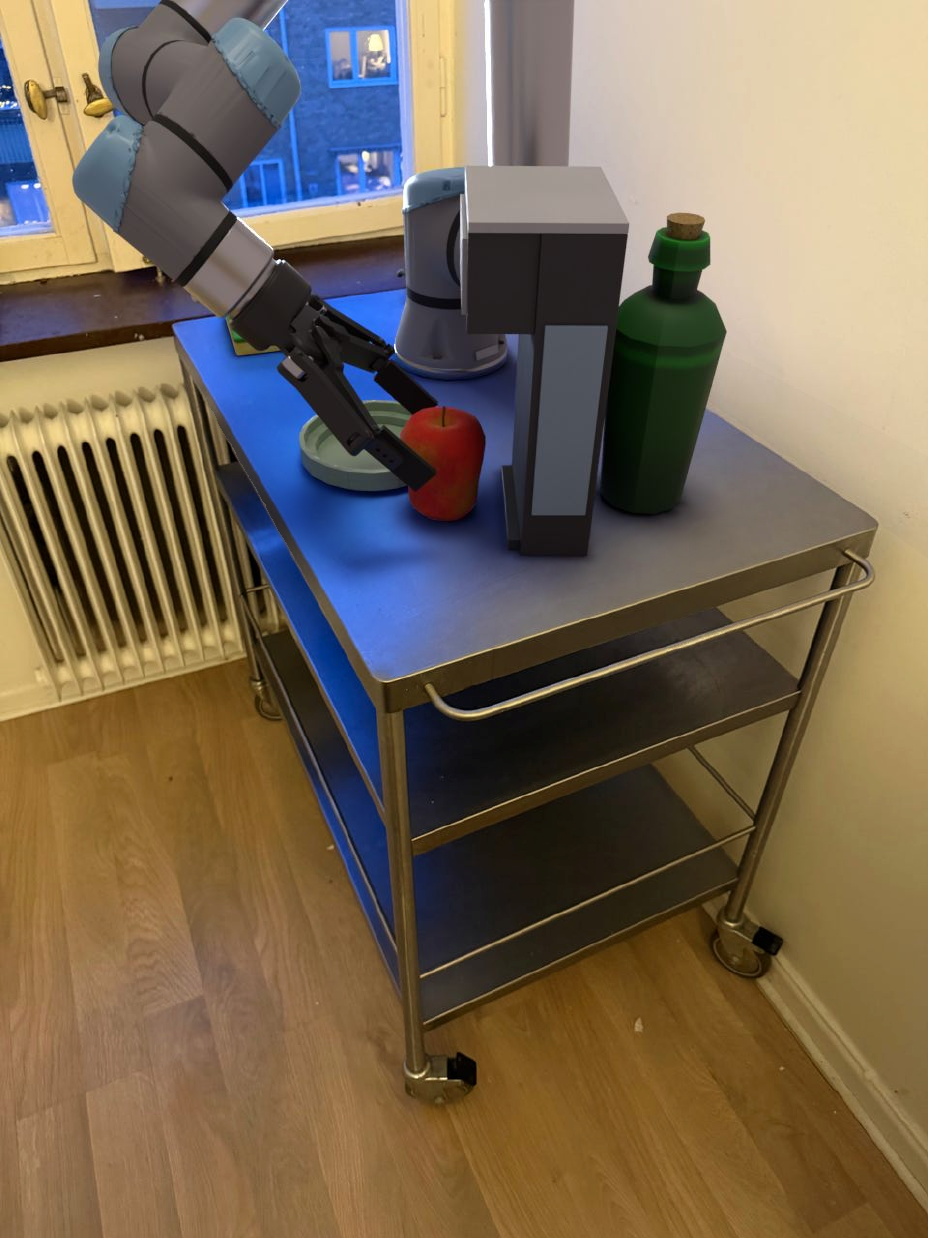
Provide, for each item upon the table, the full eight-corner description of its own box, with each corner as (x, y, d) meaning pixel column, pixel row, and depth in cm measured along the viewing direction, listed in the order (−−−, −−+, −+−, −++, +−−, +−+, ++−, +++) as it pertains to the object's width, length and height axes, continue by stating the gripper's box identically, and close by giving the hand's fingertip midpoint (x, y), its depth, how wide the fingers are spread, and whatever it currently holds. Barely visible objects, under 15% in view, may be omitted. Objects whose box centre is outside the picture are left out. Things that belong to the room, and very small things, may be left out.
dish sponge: (236, 356, 119) (233, 339, 117) (225, 317, 129) (222, 301, 127) (289, 350, 120) (287, 333, 119) (274, 312, 130) (272, 296, 129)
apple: (392, 496, 93) (386, 393, 85) (465, 481, 95) (466, 379, 88) (419, 541, 87) (416, 434, 79) (497, 523, 89) (501, 418, 82)
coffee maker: (459, 558, 85) (463, 223, 65) (458, 469, 97) (460, 165, 77) (587, 558, 85) (630, 224, 65) (569, 469, 98) (601, 166, 77)
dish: (280, 444, 101) (276, 420, 99) (404, 411, 107) (403, 388, 105) (339, 512, 91) (336, 488, 89) (473, 471, 97) (473, 447, 95)
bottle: (696, 479, 96) (755, 207, 78) (682, 532, 89) (743, 244, 70) (601, 461, 99) (635, 195, 81) (579, 511, 91) (611, 229, 73)
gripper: (250, 269, 87) (406, 408, 97) (194, 382, 68) (395, 540, 78) (297, 213, 84) (454, 363, 94) (253, 315, 65) (455, 490, 75)
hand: (427, 444), depth 86 cm, fingers open, 13 cm apart
